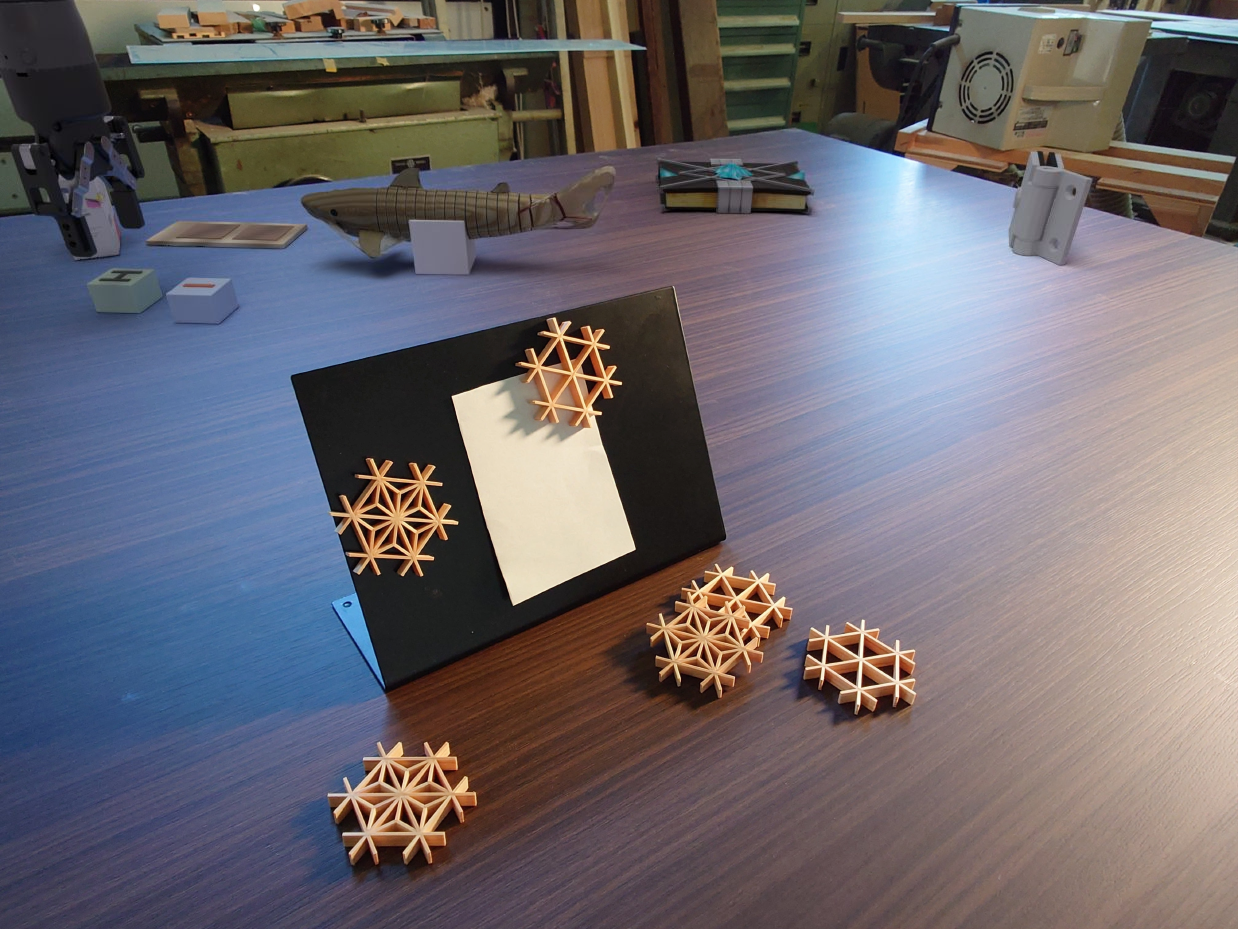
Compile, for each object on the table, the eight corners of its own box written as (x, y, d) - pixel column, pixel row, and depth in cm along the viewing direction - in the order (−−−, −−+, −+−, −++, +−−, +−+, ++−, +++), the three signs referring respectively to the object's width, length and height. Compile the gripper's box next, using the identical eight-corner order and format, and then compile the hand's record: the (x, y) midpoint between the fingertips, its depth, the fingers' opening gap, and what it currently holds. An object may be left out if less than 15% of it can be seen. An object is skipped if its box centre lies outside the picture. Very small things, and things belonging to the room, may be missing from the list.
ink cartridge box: (77, 239, 100) (30, 112, 92) (122, 234, 102) (80, 109, 94) (72, 261, 94) (21, 126, 85) (120, 255, 95) (75, 123, 87)
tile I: (174, 322, 80) (164, 292, 78) (196, 305, 83) (187, 276, 82) (219, 324, 80) (210, 294, 78) (239, 306, 83) (231, 277, 82)
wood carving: (615, 280, 91) (616, 178, 84) (302, 277, 90) (280, 174, 84) (615, 253, 98) (616, 157, 92) (325, 250, 98) (307, 154, 91)
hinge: (1066, 266, 96) (1094, 179, 91) (1018, 263, 97) (1043, 177, 91) (1034, 229, 108) (1057, 150, 102) (992, 227, 108) (1013, 149, 103)
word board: (146, 245, 99) (144, 239, 98) (179, 225, 105) (177, 219, 105) (284, 248, 98) (282, 243, 98) (307, 228, 105) (306, 223, 104)
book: (794, 183, 126) (798, 150, 123) (813, 216, 112) (818, 178, 109) (655, 181, 126) (656, 147, 123) (656, 213, 112) (658, 176, 109)
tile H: (96, 312, 82) (85, 282, 80) (121, 295, 85) (111, 267, 84) (140, 313, 81) (130, 284, 80) (163, 296, 85) (154, 268, 83)
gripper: (55, 48, 77) (114, 219, 86) (-55, 70, 65) (26, 265, 74) (132, 49, 77) (183, 220, 86) (36, 71, 65) (106, 267, 74)
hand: (110, 241), depth 80 cm, fingers open, 8 cm apart
